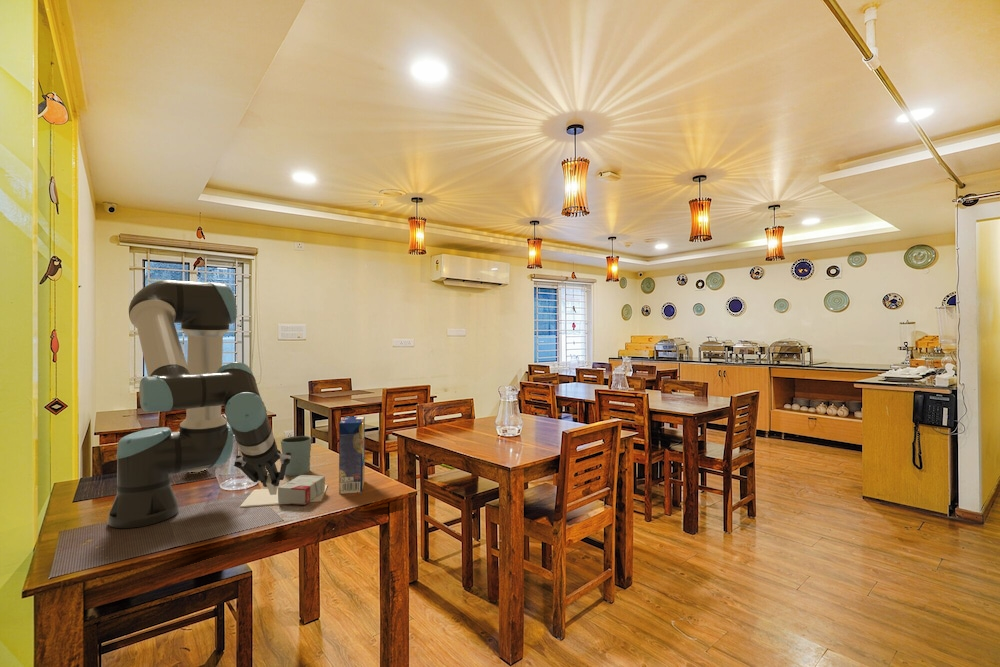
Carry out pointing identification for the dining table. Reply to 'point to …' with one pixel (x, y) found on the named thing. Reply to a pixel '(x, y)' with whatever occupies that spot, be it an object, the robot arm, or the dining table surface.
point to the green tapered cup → (297, 454)
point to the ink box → (301, 489)
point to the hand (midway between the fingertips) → (274, 490)
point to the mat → (269, 498)
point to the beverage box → (351, 454)
